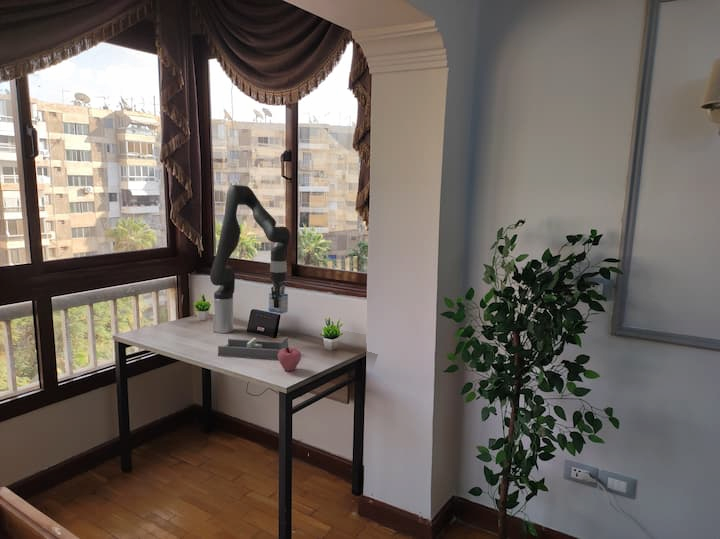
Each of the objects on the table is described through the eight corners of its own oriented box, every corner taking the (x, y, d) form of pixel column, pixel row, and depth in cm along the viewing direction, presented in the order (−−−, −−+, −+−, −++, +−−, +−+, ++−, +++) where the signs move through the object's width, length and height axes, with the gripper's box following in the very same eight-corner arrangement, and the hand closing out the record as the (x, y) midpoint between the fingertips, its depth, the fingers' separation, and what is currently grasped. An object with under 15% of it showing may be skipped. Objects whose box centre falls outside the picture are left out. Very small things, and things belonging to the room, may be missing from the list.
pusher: (246, 353, 230) (246, 343, 230) (253, 347, 239) (253, 337, 239) (258, 354, 230) (258, 344, 229) (265, 347, 239) (265, 338, 238)
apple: (303, 372, 212) (303, 348, 211) (282, 375, 208) (282, 350, 207) (294, 365, 220) (295, 341, 219) (274, 367, 217) (274, 344, 215)
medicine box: (268, 311, 245) (268, 293, 244) (274, 309, 249) (274, 291, 248) (282, 313, 241) (282, 295, 240) (288, 311, 245) (288, 293, 244)
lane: (218, 355, 230) (217, 340, 229) (229, 347, 243) (229, 332, 242) (280, 359, 227) (280, 344, 225) (288, 350, 239) (288, 335, 238)
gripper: (275, 267, 250) (274, 302, 252) (265, 272, 236) (265, 309, 238) (290, 268, 249) (290, 303, 251) (281, 273, 235) (281, 310, 237)
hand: (278, 306), depth 245 cm, fingers closed on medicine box, 5 cm apart
